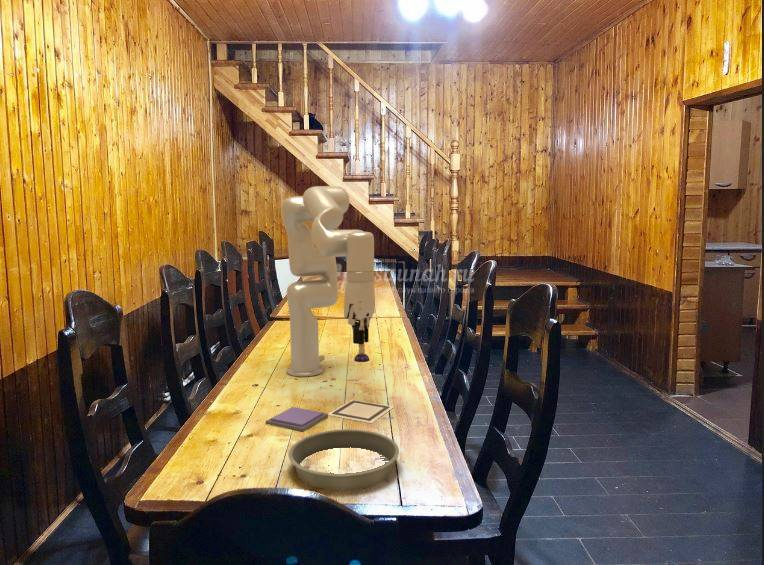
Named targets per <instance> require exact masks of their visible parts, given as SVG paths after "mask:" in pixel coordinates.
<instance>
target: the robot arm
mask: <svg viewBox="0 0 764 565" xmlns="http://www.w3.org/2000/svg"><path fill="white" fill-rule="evenodd" d="M349 207H350V195H349V193H348V191H347V190H346V189H345V188H344V187H341V186H337V185H336V186H335V185H332V186H330V185H327V186H326V185H324V186H323V185H322V186H321V185H318V186H317V185H316V186H311V187H309V188H307V189H306V190H305V191H304V193H303V194H302V195H300V196H299V195H296V196H290V197H287V198H286V199H284V201H282V204H281V209H280V210H281V221H282V223H283V226H284V229H285V231H286V235H287V236H286V237H287V248H288V264H289V271H290V272H291V275H293V276H295V277H299V278H301V277H317V276H318V277H319V276H320V279H310V280H309V279H307V280H299V281H295V282H294V281H293V282H292V283H290V284H289V285H288V286H287V288H286V299H287V304H288V310H289V311H288V312H289V325H290V326H289V327H290V328H289V329H290V331H289V332H290V366H288V367H287V368H286V374H288V375H290V376H293V377H312V376H313V377H314V376H318V375H320V374H322V373H323V372H324V366H323V365H321V362H323V361H324V360H325V359H326V357H325V355H322V354H321V355H319V354H320V350H319V349H320V348H319V343H320V342H319V341H320V340H319V320H318V318H317V316H316V314H314V313H313V312H312V309H319V308H327V307H332V306H334V305H336V303H337V302H338V299H339V298H338V297H339V286H338V285H339V284H338V271H337V270H338V269H337V266H338V265H337V260H336V258H339V257H341V258H342V257H346V284H345V287H344V288H345V289H344V296H343V297H344V298H343V299H344V301H343V318H344V319H347V324H348V325H350V326H351V330H352V344H356V345H359V344H365V343H368V342H370V341H369V339H370V338H369V334H370V333H369V328H370V322H371V319H372V317H373V316H374V314H375V311H376V310H375V309H376V296H375V285H374V283H375V237H374V234H373V233H372V232H369V231H364V230H361V229H337V228H338V227H339V226H340V225H341V224H342V222H343V220H344V214H345V213H346V212H347V211H348V210H349ZM306 223H311V224H312V225H311V228H310V227H309V226H308V225H307V224H306ZM367 313H369V316H366V314H367ZM363 319H364V330H362V329H363ZM358 322H359V323H358ZM364 335H365V336H364ZM364 339H365V342H364Z"/></svg>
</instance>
